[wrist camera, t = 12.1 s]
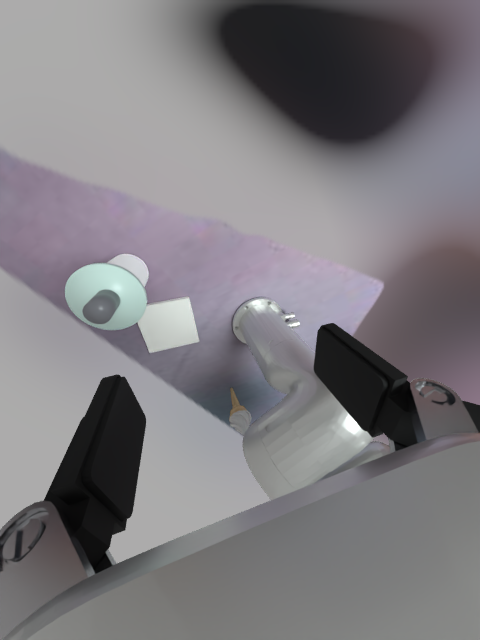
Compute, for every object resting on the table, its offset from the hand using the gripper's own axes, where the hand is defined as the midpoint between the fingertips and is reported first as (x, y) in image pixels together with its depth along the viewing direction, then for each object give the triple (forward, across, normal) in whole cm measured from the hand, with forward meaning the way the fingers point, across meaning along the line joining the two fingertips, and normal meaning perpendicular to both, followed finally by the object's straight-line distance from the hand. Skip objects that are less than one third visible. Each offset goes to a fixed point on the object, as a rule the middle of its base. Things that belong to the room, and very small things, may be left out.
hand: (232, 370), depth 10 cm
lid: (+21, +12, +2) cm, 25 cm away
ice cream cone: (+34, -3, +38) cm, 51 cm away
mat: (+33, +8, +14) cm, 37 cm away
